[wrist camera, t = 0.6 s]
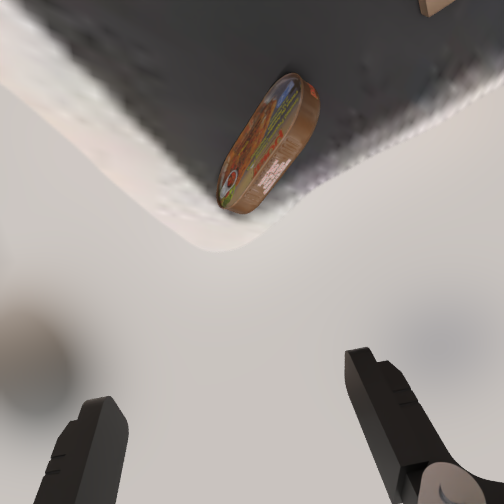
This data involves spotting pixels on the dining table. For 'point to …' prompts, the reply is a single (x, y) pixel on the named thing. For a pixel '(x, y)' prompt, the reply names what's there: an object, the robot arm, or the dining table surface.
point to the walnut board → (432, 6)
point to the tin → (268, 144)
